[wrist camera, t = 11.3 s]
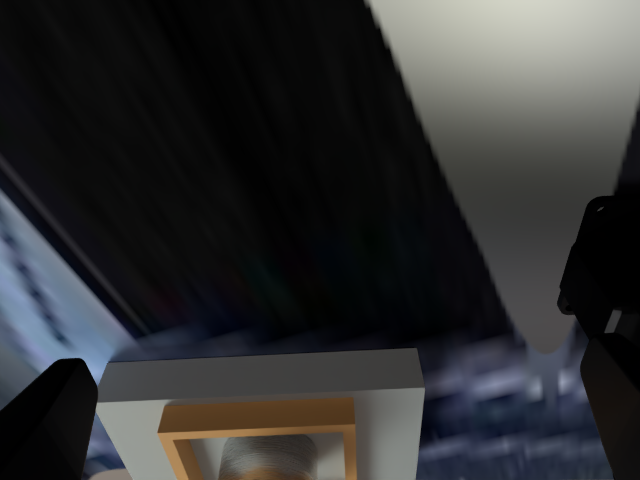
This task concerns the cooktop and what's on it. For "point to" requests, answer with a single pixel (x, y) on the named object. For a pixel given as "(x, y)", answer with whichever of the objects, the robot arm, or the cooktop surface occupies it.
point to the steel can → (269, 458)
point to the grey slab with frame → (267, 411)
